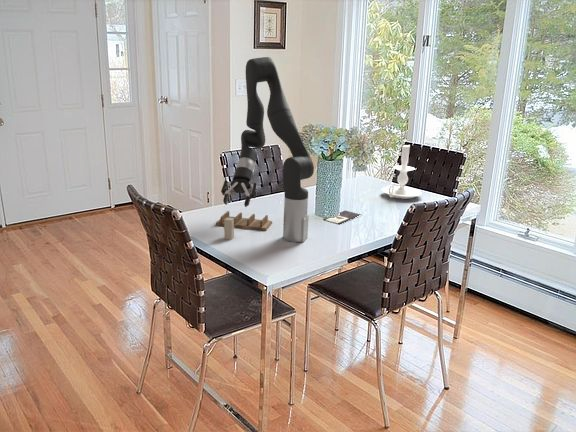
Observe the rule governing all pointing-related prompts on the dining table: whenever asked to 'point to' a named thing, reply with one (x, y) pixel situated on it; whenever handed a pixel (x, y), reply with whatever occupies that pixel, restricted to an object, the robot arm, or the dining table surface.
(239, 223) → the drying rack
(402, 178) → the candlestick
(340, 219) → the chocolate bar
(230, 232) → the clay bar
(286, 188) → the robot arm
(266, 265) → the dining table surface
